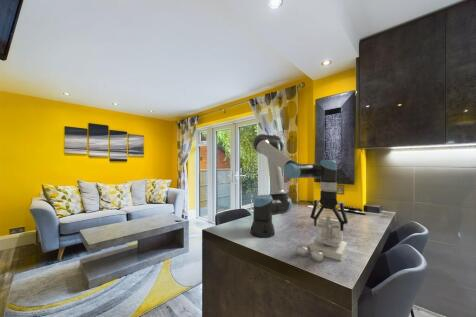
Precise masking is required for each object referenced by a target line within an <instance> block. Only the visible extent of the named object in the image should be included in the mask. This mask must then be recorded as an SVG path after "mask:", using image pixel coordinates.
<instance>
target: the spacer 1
mask: <svg viewBox="0 0 476 317" xmlns="http://www.w3.org/2000/svg"><path fill="white" fill-rule="evenodd" d="M296 248H297V249H296V253H297V254H296V255H297V256H298V257H299V256H300V258H308V257H309V246H307V245H306V244H298V245H297V247H296Z"/></svg>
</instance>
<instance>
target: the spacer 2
mask: <svg viewBox="0 0 476 317" xmlns="http://www.w3.org/2000/svg"><path fill="white" fill-rule="evenodd" d="M311 261H312V262H315V263H317V264H321V263H324V256H323V251H321V250H318V249H312V253H311Z"/></svg>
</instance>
